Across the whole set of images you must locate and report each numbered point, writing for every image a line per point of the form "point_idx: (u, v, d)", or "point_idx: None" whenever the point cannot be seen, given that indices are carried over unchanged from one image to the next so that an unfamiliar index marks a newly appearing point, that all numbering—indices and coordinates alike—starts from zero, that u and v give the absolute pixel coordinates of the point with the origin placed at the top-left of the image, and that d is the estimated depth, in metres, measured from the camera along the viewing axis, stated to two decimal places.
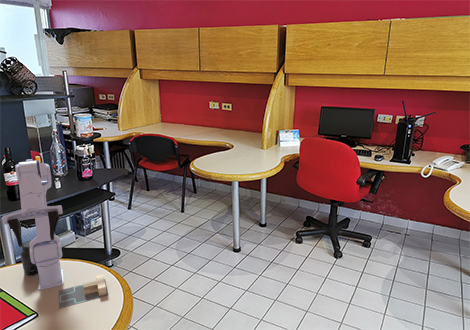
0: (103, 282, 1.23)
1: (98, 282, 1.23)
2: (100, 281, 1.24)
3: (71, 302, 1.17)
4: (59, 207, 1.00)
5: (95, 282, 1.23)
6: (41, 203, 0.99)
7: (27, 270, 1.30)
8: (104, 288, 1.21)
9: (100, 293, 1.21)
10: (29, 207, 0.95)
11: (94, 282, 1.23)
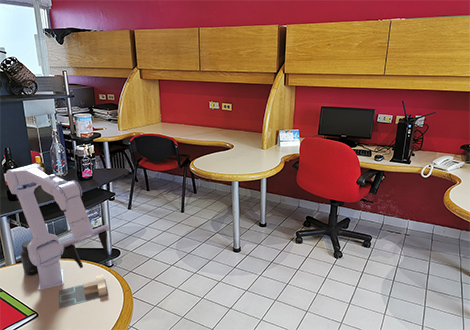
0: (103, 282, 1.23)
1: (98, 282, 1.23)
2: (100, 281, 1.24)
3: (71, 302, 1.17)
4: (106, 227, 1.08)
5: (95, 282, 1.23)
6: (89, 227, 1.05)
7: (27, 270, 1.30)
8: (104, 288, 1.21)
9: (100, 293, 1.21)
10: (82, 237, 1.02)
11: (94, 282, 1.23)
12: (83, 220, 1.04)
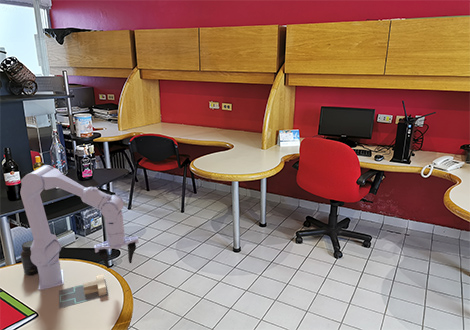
0: (103, 282, 1.23)
1: (98, 282, 1.23)
2: (100, 281, 1.24)
3: (71, 302, 1.17)
4: (136, 240, 1.24)
5: (95, 282, 1.23)
6: (123, 238, 1.21)
7: (27, 270, 1.30)
8: (104, 288, 1.21)
9: (100, 293, 1.21)
10: (117, 248, 1.18)
11: (94, 282, 1.23)
12: (120, 233, 1.19)
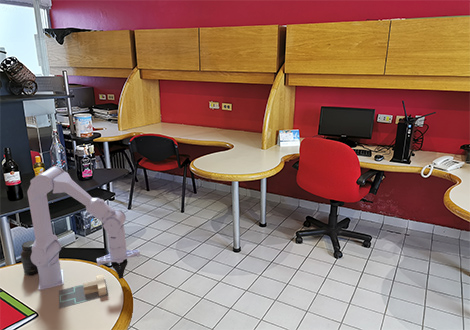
0: (103, 282, 1.23)
1: (98, 282, 1.23)
2: (100, 281, 1.24)
3: (71, 302, 1.17)
4: (138, 253, 1.26)
5: (95, 282, 1.23)
6: (125, 252, 1.23)
7: (27, 270, 1.30)
8: (104, 288, 1.21)
9: (100, 293, 1.21)
10: (119, 262, 1.20)
11: (94, 282, 1.23)
12: (122, 247, 1.21)
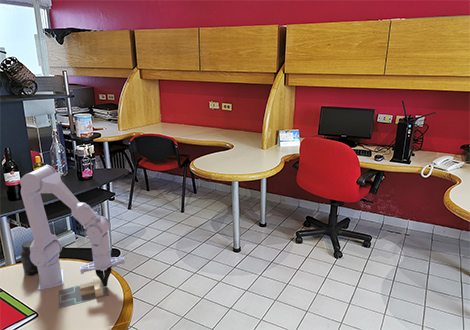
0: (100, 283, 1.23)
1: (95, 283, 1.23)
2: (97, 282, 1.23)
3: (71, 302, 1.17)
4: (122, 261, 1.24)
5: (92, 283, 1.22)
6: (109, 260, 1.21)
7: (27, 270, 1.30)
8: (101, 289, 1.20)
9: (97, 294, 1.20)
10: (102, 270, 1.19)
11: (91, 283, 1.22)
12: (106, 255, 1.19)
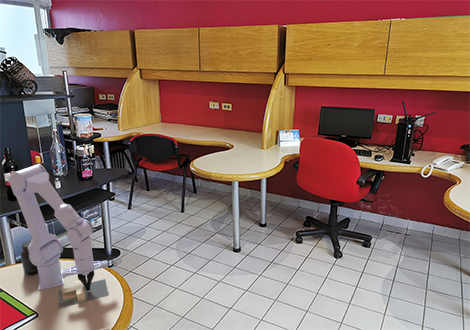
0: (82, 287, 1.20)
1: (77, 287, 1.20)
2: (79, 286, 1.21)
3: (71, 302, 1.17)
4: (106, 265, 1.22)
5: (74, 287, 1.20)
6: (92, 264, 1.19)
7: (27, 270, 1.30)
8: (83, 294, 1.18)
9: (79, 299, 1.18)
10: (84, 274, 1.16)
11: (73, 287, 1.20)
12: (88, 259, 1.17)
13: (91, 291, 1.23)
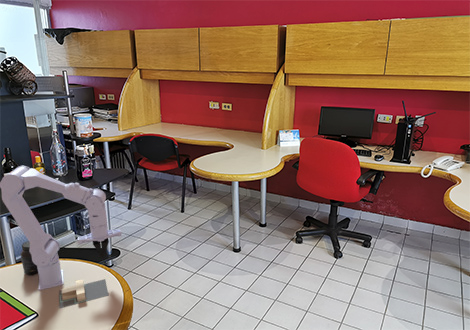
0: (82, 287, 1.20)
1: (77, 287, 1.20)
2: (79, 286, 1.21)
3: (71, 302, 1.17)
4: (119, 233, 1.27)
5: (74, 287, 1.20)
6: (106, 231, 1.24)
7: (27, 270, 1.30)
8: (83, 294, 1.18)
9: (79, 299, 1.18)
10: (99, 240, 1.21)
11: (73, 287, 1.20)
12: (103, 226, 1.22)
13: (91, 291, 1.23)
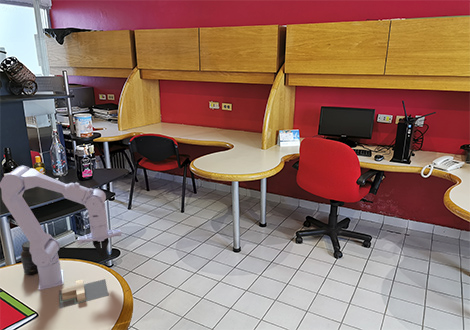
0: (82, 287, 1.20)
1: (77, 287, 1.20)
2: (79, 286, 1.21)
3: (71, 302, 1.17)
4: (119, 233, 1.27)
5: (74, 287, 1.20)
6: (106, 231, 1.24)
7: (27, 270, 1.30)
8: (83, 294, 1.18)
9: (79, 299, 1.18)
10: (99, 240, 1.21)
11: (73, 287, 1.20)
12: (103, 226, 1.22)
13: (91, 291, 1.23)
